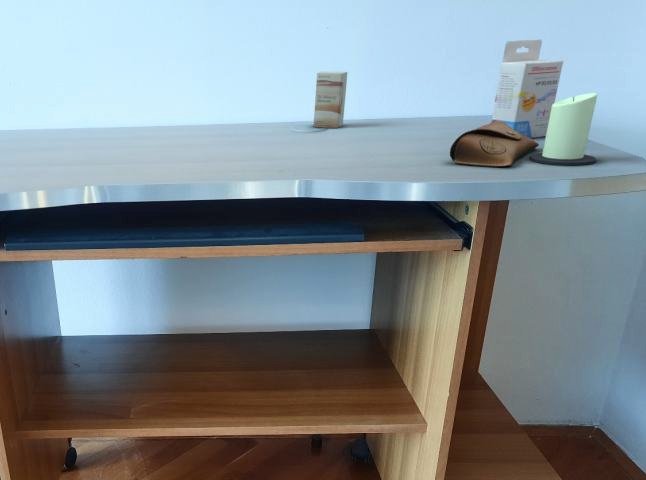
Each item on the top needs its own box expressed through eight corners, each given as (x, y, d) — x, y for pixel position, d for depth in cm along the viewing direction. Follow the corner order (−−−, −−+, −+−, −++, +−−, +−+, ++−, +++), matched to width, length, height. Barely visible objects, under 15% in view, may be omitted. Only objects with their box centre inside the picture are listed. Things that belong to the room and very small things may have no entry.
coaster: (598, 157, 89) (599, 154, 89) (592, 167, 83) (593, 164, 83) (535, 153, 93) (535, 150, 93) (525, 163, 87) (525, 160, 87)
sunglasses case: (514, 164, 84) (494, 117, 83) (462, 187, 89) (443, 143, 88) (541, 144, 97) (524, 103, 96) (494, 165, 102) (477, 127, 101)
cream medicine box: (312, 127, 127) (315, 72, 122) (318, 124, 130) (321, 71, 126) (338, 128, 125) (342, 72, 120) (344, 125, 128) (347, 70, 124)
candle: (545, 159, 87) (558, 95, 83) (539, 153, 91) (551, 91, 87) (586, 160, 85) (602, 94, 82) (578, 154, 90) (592, 91, 86)
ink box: (512, 141, 104) (530, 40, 98) (487, 137, 108) (503, 41, 102) (549, 136, 107) (569, 38, 101) (524, 132, 111) (541, 39, 105)
